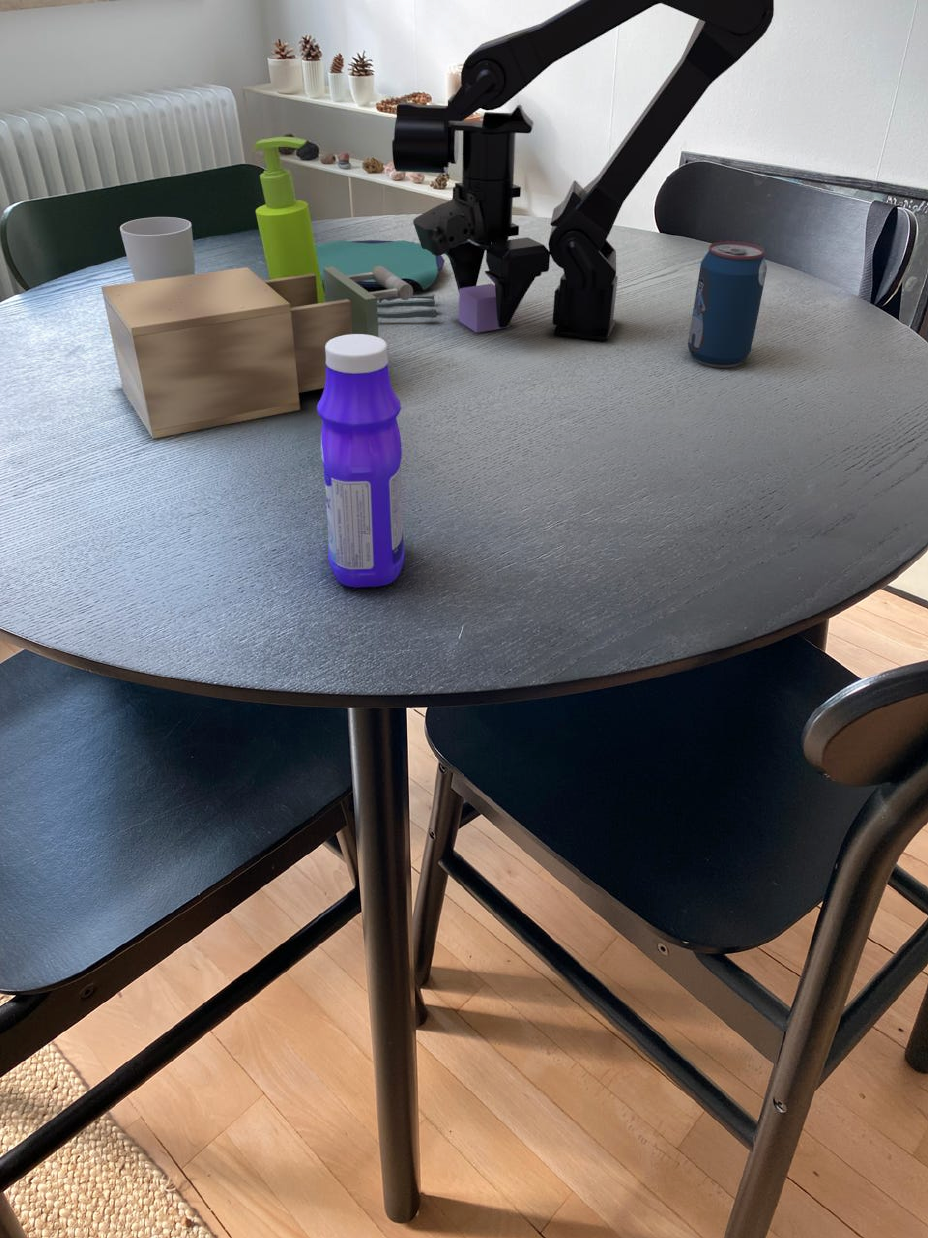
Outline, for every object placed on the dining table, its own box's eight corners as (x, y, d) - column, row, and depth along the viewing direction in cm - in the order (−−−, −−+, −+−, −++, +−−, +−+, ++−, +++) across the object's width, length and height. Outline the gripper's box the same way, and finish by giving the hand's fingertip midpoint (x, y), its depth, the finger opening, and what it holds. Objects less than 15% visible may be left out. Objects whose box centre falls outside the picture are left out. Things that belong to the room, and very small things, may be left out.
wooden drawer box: (259, 366, 103) (247, 266, 97) (300, 409, 95) (290, 303, 88) (122, 390, 98) (100, 286, 91) (152, 439, 89) (130, 327, 83)
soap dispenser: (327, 330, 111) (294, 143, 99) (272, 331, 112) (232, 147, 100) (342, 311, 115) (312, 130, 103) (289, 312, 117) (253, 134, 104)
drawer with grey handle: (379, 339, 108) (376, 258, 103) (423, 374, 100) (422, 289, 95) (219, 367, 101) (207, 282, 95) (254, 407, 93) (242, 317, 87)
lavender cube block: (490, 315, 117) (491, 283, 115) (509, 327, 114) (510, 293, 112) (458, 321, 116) (458, 288, 113) (476, 333, 113) (477, 299, 110)
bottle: (331, 543, 75) (313, 324, 64) (403, 540, 75) (397, 323, 65) (328, 596, 69) (308, 365, 58) (406, 593, 69) (400, 364, 59)
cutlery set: (441, 253, 138) (441, 236, 137) (453, 325, 115) (453, 306, 113) (304, 253, 137) (302, 237, 136) (286, 326, 113) (285, 307, 112)
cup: (216, 304, 119) (204, 220, 113) (180, 325, 113) (166, 238, 107) (160, 296, 121) (146, 214, 115) (122, 316, 115) (105, 230, 109)
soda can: (759, 358, 107) (782, 248, 100) (728, 375, 103) (749, 261, 96) (706, 342, 111) (725, 235, 104) (674, 358, 107) (690, 247, 100)
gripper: (386, 165, 108) (390, 301, 118) (464, 201, 95) (461, 351, 105) (472, 156, 113) (469, 289, 122) (557, 190, 100) (547, 336, 109)
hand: (484, 315), depth 114 cm, fingers open, 9 cm apart
